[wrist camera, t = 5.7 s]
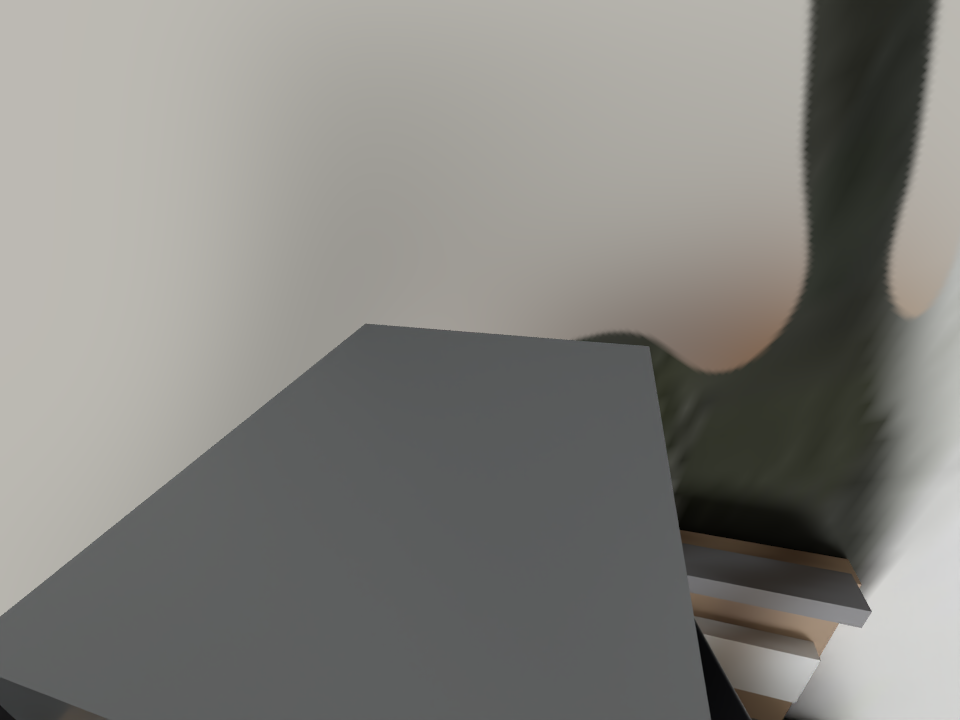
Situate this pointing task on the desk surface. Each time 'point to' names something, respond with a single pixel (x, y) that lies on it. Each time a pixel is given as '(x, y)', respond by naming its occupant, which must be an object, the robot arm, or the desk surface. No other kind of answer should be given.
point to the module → (391, 554)
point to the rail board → (768, 614)
